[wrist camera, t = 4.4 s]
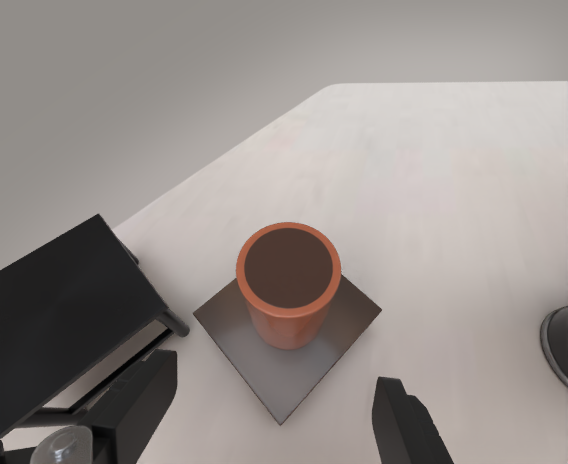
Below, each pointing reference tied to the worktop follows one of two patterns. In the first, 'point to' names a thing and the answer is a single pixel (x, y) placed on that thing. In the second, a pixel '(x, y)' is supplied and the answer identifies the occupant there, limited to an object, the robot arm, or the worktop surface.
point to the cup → (288, 282)
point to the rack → (71, 321)
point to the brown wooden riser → (278, 362)
